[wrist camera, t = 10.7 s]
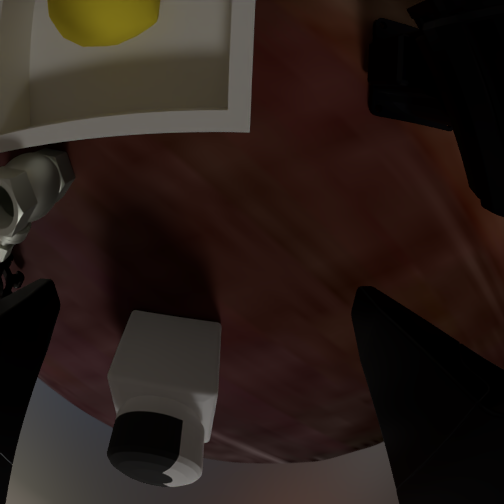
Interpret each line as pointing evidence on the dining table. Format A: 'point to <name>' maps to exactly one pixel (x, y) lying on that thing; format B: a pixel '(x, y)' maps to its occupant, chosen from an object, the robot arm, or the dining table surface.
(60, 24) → the lemon
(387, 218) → the dining table surface
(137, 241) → the dining table surface
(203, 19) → the walled box
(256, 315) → the dining table surface
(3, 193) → the valve
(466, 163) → the robot arm
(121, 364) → the medicine bottle
